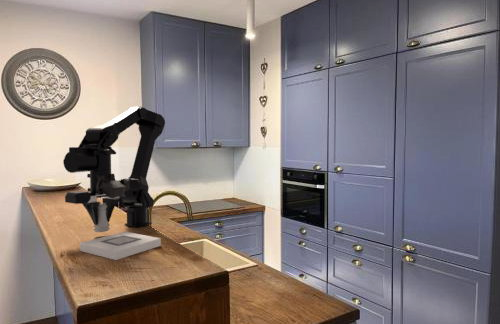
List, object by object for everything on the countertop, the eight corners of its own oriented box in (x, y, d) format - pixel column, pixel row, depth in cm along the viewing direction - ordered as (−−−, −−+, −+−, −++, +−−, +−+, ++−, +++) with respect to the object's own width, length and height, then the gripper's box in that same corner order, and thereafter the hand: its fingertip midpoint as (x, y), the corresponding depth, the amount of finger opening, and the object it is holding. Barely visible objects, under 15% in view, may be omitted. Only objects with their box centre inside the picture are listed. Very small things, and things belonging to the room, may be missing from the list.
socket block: (125, 238, 101) (125, 231, 101) (160, 245, 94) (160, 237, 94) (79, 250, 89) (79, 242, 89) (115, 260, 82) (115, 251, 82)
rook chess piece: (93, 229, 105) (93, 202, 104) (109, 228, 107) (109, 201, 106) (93, 232, 101) (92, 205, 100) (110, 231, 102) (109, 204, 102)
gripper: (87, 173, 91) (89, 233, 91) (144, 169, 106) (145, 220, 107) (63, 172, 97) (64, 228, 97) (120, 168, 112) (121, 216, 113)
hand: (101, 223), depth 104 cm, fingers closed on rook chess piece, 3 cm apart
